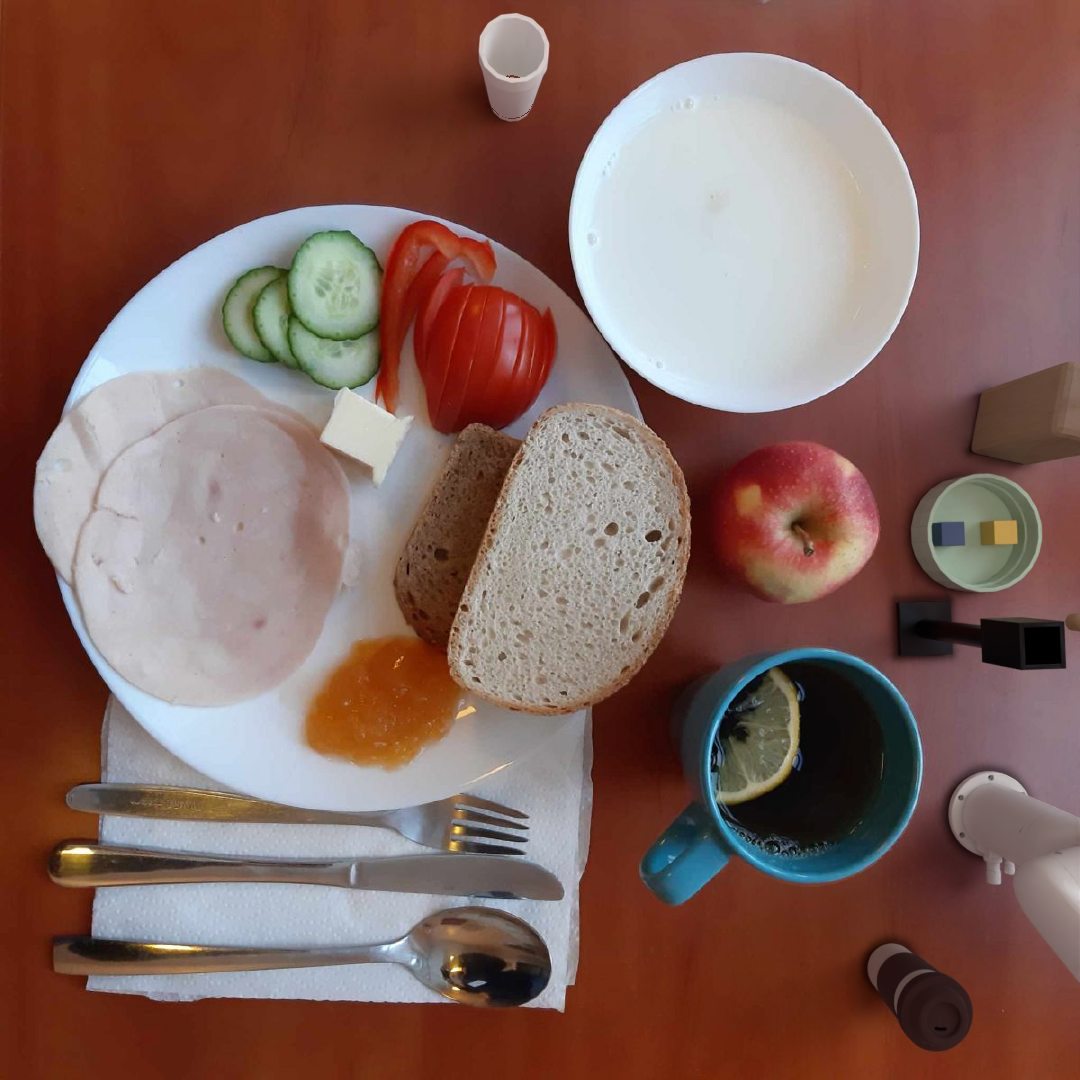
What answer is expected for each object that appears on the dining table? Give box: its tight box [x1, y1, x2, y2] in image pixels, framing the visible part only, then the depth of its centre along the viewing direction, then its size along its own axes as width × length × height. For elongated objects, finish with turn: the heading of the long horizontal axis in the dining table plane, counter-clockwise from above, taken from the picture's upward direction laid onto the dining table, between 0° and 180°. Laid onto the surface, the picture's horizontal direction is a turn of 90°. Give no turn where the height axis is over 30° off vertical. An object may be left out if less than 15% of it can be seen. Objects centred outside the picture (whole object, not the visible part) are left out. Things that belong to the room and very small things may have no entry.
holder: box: [895, 600, 1067, 671], centre depth 115 cm, size 8×8×28 cm
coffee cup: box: [867, 943, 974, 1053], centre depth 119 cm, size 10×10×15 cm
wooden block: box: [971, 360, 1080, 466], centre depth 120 cm, size 10×10×20 cm
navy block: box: [931, 522, 965, 546], centre depth 127 cm, size 4×4×4 cm
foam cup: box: [478, 12, 550, 123], centre depth 120 cm, size 10×9×13 cm
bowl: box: [910, 473, 1043, 593], centre depth 126 cm, size 17×17×6 cm
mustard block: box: [980, 520, 1018, 545], centre depth 127 cm, size 4×4×4 cm
